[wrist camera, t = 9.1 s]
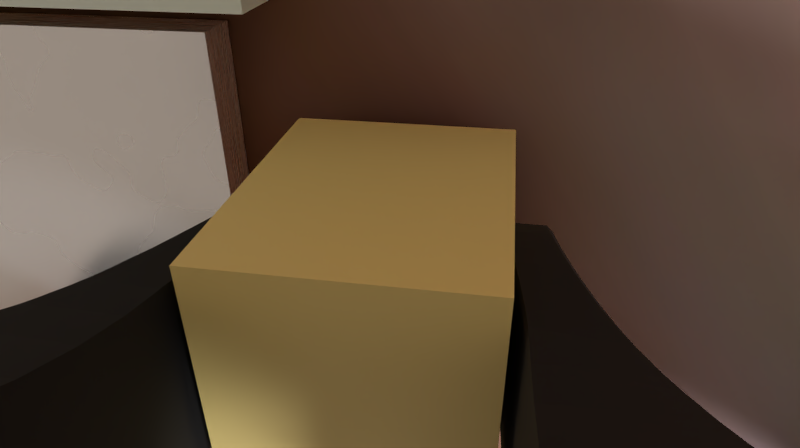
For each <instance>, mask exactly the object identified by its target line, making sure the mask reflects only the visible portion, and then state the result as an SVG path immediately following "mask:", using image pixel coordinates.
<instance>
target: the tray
mask: <svg viewBox="0 0 800 448" xmlns="http://www.w3.org/2000/svg"><path fill="white" fill-rule="evenodd" d="M267 1H268V0H0V6H2V7H32V8H61V9H91V10H121V11H151V12H181V13H211V14H240V15H243V14H244V13H246V12H248V11H250V10H252V9H254V8H256V7H257V6H259V5H261V4H263V3H265V2H267Z"/></svg>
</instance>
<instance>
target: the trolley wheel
mask: <svg viewBox="0 0 800 448" xmlns="http://www.w3.org/2000/svg"><path fill="white" fill-rule="evenodd" d="M248 176H249V171H248V164H247V157H246V150H245V143H244V135H243V128H242V121H241V114H240V107H239V100H238V93H237V86H236V79H235V71H234V64H233V57H232V50H231V43H230V36H229V29H228V22H227V20H204V19H175V18H147V17H118V16H90V15H61V14H33V13H4V12H0V310H1V309H4V308H8V307H11V306H14V305H17V304H20V303H23V302H26V301H29V300H32V299H35V298H37V297H40V296H43V295H45V294H48V293H51V292H53V291H56V290H58V289H61V288H64V287H66V286H69V285H71V284H74V283H76V282H79V281H81V280H84V279H86V278H88V277H91V276H93V275H95V274H98V273H100V272H102V271H104V270H106V269H109V268H111V267H113V266H115V265H117V264H119V263H121V262H123V261H125V260H128V259H130V258H132V257H134V256H136V255H138V254H140V253H142V252H144V251H147V250H149V249H151V248H153V247H155V246H157V245H159V244H161V243H163V242H165V241H166V240H168V239H170V238H172V237H174V236H176V235H178V234H180V233H182V232H184V231H186V230H188V229H190V228H192V227H193V226H195V225H197V224H199V223H201V222H203V221H205V220H207V219H209V218H211V217H212V216H213V215H214V214H215V213H216V212H217V211H218V210H219V209H220V207H221V206H222V205H223V204H224V203H225V202H226V201H227V199H228V198H229V197H230V196H231V195H232V194H233V193H234V191H235V190H236V189H237V188H238V187H239V186H240V185H241V184H242V182H243V181H244V180H245V179H246V178H247V177H248Z"/></svg>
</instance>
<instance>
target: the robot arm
mask: <svg viewBox="0 0 800 448" xmlns="http://www.w3.org/2000/svg"><path fill="white" fill-rule="evenodd" d="M211 218H212V217H211ZM211 218H209V219H207V220H205V221H203V222H201V223H199V224H197V225H195V226H193V227H192V228H190V229H188V230H186V231H184V232H182V233H180V234H178V235H176V236H174V237H172V238H170V239H168V240H166V241H165V242H163V243H161V244H159V245H157V246H155V247H153V248H151V249H149V250H147V251H144V252H142V253H140V254H138V255H136V256H134V257H132V258H130V259H128V260H125V261H123V262H121V263H119V264H117V265H115V266H113V267H111V268H109V269H106V270H104V271H102V272H100V273H98V274H95V275H93V276H91V277H88V278H86V279H84V280H81V281H79V282H76V283H74V284H71V285H69V286H66V287H64V288H61V289H58V290H56V291H53V292H51V293H48V294H45V295H43V296H40V297H37V298H35V299H32V300H29V301H26V302H23V303H20V304H17V305H14V306H11V307H8V308H4V309H1V310H0V448H212V446H211V442H210V438H209V433H208V429H207V425H206V421H205V416H204V412H203V408H202V404H201V399H200V395H199V391H198V386H197V382H196V378H195V374H194V369H193V365H192V361H191V357H190V352H189V348H188V344H187V339H186V335H185V331H184V327H183V322H182V318H181V314H180V310H179V305H178V301H177V297H176V292H175V288H174V284H173V280H172V275H171V271H170V267H169V265H170V264H171V263H172V262H173V261H174V260H175V259H176V257H177V256H178V255H179V254H180V253H181V252H182V251H183V249H184V248H185V247H186V246H187V245H188V244H189V243H190V241H191V240H192V239H193V238H194V237H195V236H196V235H197V234H198V232H199V231H200V230H201V229H202V228H203V227H204V226H205V224H206V223H207V222H208V221H209V220H210V219H211ZM500 432H501V448H754V447H753V446H751V445H750V444H748V443H747V442H746V441H744V440H743V439H742V438H740V437H739V436H738V435H736V434H735V433H734V432H732V431H731V430H730V429H728V428H727V427H726V426H724V425H723V424H722V423H720V422H719V421H718V420H717V419H715V418H714V417H713V416H712V415H711V414H709V413H708V412H707V411H706V410H704V409H703V408H702V407H701V406H700V405H698V404H697V403H696V402H695V401H694V400H692V399H691V398H690V397H689V396H687V395H686V394H685V393H684V392H683V391H681V390H680V389H679V388H678V387H677V386H676V385H675V384H674V383H672V382H671V381H670V380H669V379H668V378H667V377H666V376H665V375H664V374H662V373H661V372H660V371H659V370H658V369H657V368H656V367H655V366H654V365H653V364H652V363H651V362H650V361H649V360H648V359H647V358H646V357H645V356H644V355H643V354H642V353H641V352H640V351H639V350H638V349H637V348H636V347H635V346H634V345H633V344H632V343H631V342H630V340H629V339H628V338H627V337H626V336H625V335H624V334H623V333H622V331H621V330H620V329H619V328H618V327H617V325H616V324H615V323H614V322H613V321H612V320H611V318H610V317H609V316H608V315H607V313H606V312H605V311H604V310H603V308H602V307H601V306H600V305H599V303H598V302H597V301H596V299H595V298H594V296H593V295H592V294H591V292H590V291H589V290H588V288H587V287H586V285H585V284H584V283H583V281H582V280H581V278H580V277H579V275H578V274H577V273H576V271H575V270H574V268H573V266H572V265H571V263H570V262H569V260H568V259H567V257H566V255H565V254H564V252H563V250H562V249H561V247H560V245H559V243H558V242H557V240H556V238H555V236H554V234H553V232H552V231H551V230H550V229H549V228H548V226H544V225H532V224H520V223H515V269H514V305H513V314H512V323H511V332H510V341H509V350H508V359H507V368H506V378H505V387H504V396H503V405H502V414H501V423H500Z"/></svg>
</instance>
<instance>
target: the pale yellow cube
mask: <svg viewBox="0 0 800 448" xmlns="http://www.w3.org/2000/svg"><path fill="white" fill-rule="evenodd" d="M515 177H516V130H511V129H493V128H474V127H456V126H438V125H420V124H402V123H384V122H366V121H348V120H330V119H311V118H299V119H298V120H297V121H296V122H295V123H294V124H293V126H292V127H291V128H290V129H289V130H288V131H287V132H286V134H285V135H284V136H283V137H282V138H281V139H280V140H279V142H278V143H277V144H276V145H275V146H274V147H273V148H272V149H271V151H270V152H269V153H268V154H267V155H266V156H265V157H264V159H263V160H262V161H261V162H260V163H259V164H258V165H257V167H256V168H255V169H254V170H253V171H252V172H251V173H250V174H249V176H248V177H247V178H246V179H245V180H244V181H243V182H242V184H241V185H240V186H239V187H238V188H237V189H236V190H235V191H234V193H233V194H232V195H231V196H230V197H229V198H228V199H227V201H226V202H225V203H224V204H223V205H222V206H221V207H220V209H219V210H218V211H217V212H216V213H215V214H214V215H213V216H212V218H211V219H210V220H209V221H208V222H207V223H206V224H205V226H204V227H203V228H202V229H201V230H200V231H199V232H198V234H197V235H196V236H195V237H194V238H193V239H192V240H191V241H190V243H189V244H188V245H187V246H186V247H185V248H184V249H183V251H182V252H181V253H180V254H179V255H178V256H177V257H176V259H175V260H174V261H173V262H172V263H171V264H170V265H169V267H170V271H171V275H172V280H173V284H174V288H175V292H176V297H177V301H178V305H179V310H180V314H181V318H182V322H183V327H184V331H185V335H186V339H187V344H188V348H189V352H190V357H191V361H192V365H193V369H194V374H195V378H196V382H197V386H198V391H199V395H200V399H201V404H202V408H203V412H204V416H205V421H206V425H207V429H208V433H209V438H210V442H211V446H212V448H498V441H499V432H500V423H501V414H502V405H503V396H504V387H505V378H506V368H507V359H508V350H509V341H510V332H511V323H512V314H513V305H514V269H515Z"/></svg>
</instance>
